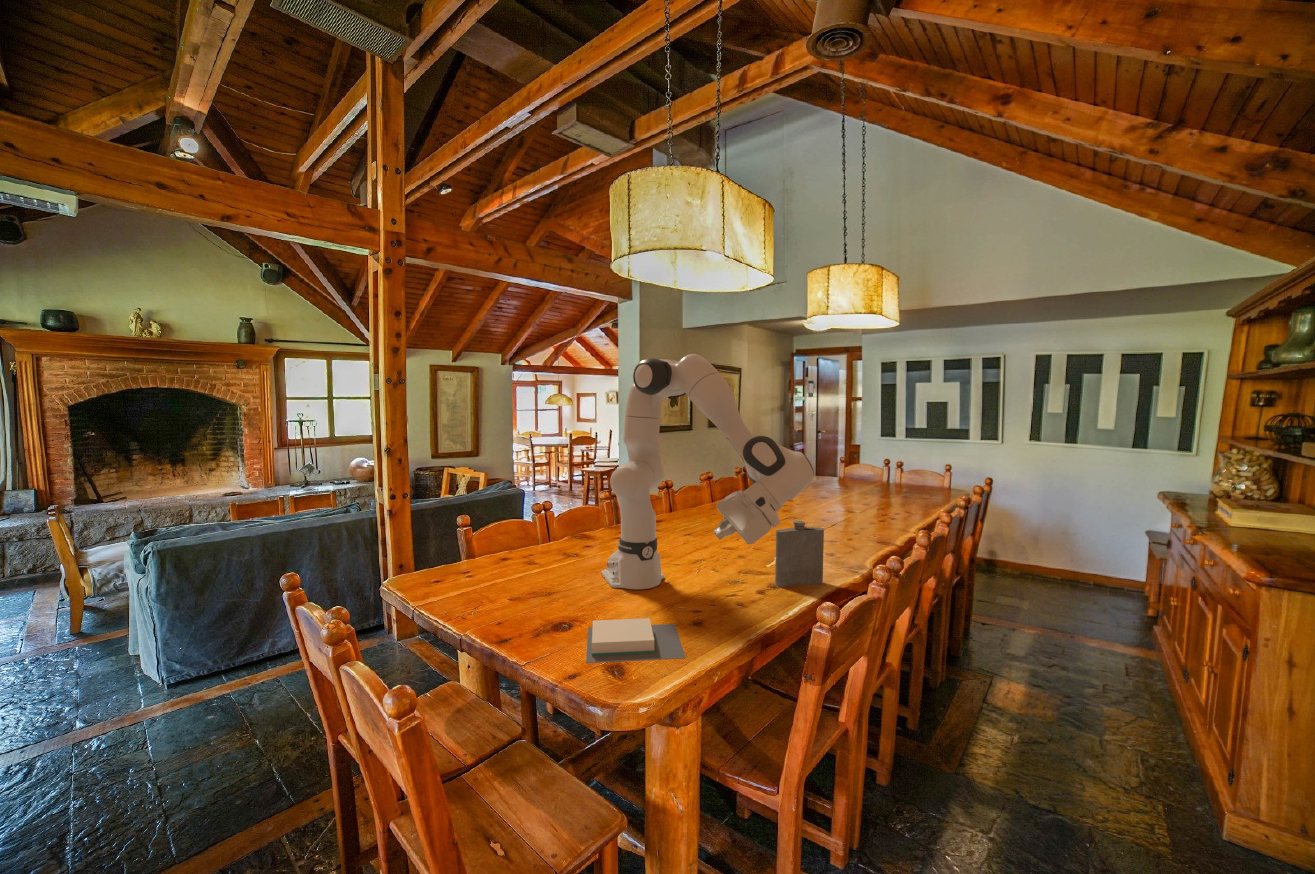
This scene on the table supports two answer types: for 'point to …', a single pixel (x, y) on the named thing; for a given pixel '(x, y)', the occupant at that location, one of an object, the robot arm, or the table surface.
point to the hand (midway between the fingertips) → (716, 535)
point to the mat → (664, 648)
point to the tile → (622, 637)
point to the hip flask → (799, 556)
